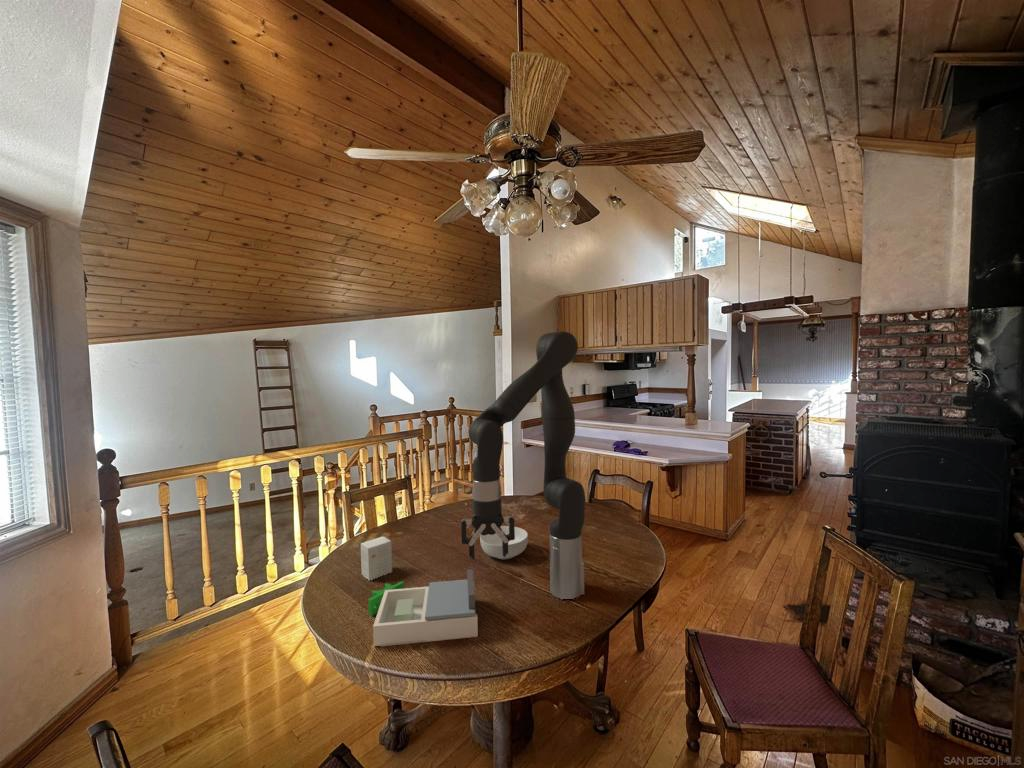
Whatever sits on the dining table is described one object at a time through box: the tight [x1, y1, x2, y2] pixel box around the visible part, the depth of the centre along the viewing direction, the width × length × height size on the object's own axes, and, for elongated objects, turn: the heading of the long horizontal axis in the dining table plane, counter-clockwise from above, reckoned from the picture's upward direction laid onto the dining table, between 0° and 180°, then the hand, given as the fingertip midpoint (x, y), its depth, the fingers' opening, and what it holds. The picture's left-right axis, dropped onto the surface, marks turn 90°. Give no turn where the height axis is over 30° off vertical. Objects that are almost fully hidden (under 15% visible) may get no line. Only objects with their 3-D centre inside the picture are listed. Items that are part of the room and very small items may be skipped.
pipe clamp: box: [367, 580, 405, 617], centre depth 114 cm, size 11×4×5 cm, turn 145°
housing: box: [372, 582, 479, 647], centre depth 106 cm, size 24×16×5 cm, turn 98°
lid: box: [425, 569, 476, 620], centre depth 106 cm, size 12×16×4 cm
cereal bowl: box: [479, 525, 529, 560], centre depth 144 cm, size 17×17×7 cm
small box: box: [360, 535, 393, 582], centre depth 131 cm, size 8×6×10 cm
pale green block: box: [394, 598, 414, 622], centre depth 105 cm, size 4×7×4 cm, turn 8°
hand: (488, 556), depth 108 cm, fingers open, 7 cm apart
